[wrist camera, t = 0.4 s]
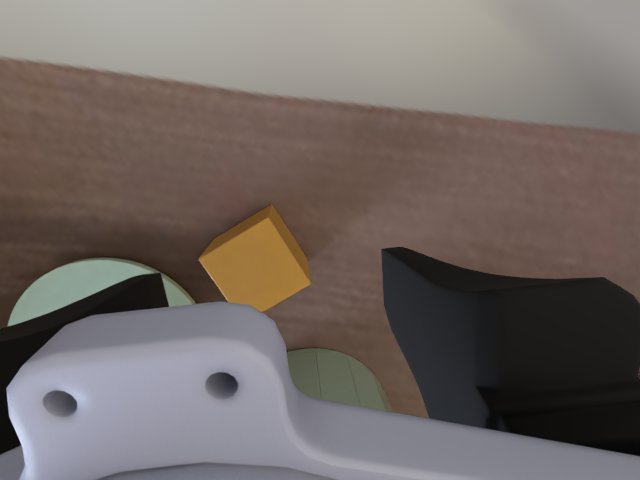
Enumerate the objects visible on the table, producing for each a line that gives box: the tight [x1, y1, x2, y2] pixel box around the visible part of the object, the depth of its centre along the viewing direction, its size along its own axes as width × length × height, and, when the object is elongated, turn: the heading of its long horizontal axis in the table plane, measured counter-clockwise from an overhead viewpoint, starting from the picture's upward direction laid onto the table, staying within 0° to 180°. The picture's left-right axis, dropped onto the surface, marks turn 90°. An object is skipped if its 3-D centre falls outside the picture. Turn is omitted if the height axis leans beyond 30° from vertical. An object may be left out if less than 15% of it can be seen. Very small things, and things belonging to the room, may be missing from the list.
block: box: [199, 204, 311, 313], centre depth 21 cm, size 4×4×4 cm
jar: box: [287, 348, 393, 412], centre depth 23 cm, size 10×10×6 cm
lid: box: [7, 257, 196, 327], centre depth 22 cm, size 11×11×4 cm
